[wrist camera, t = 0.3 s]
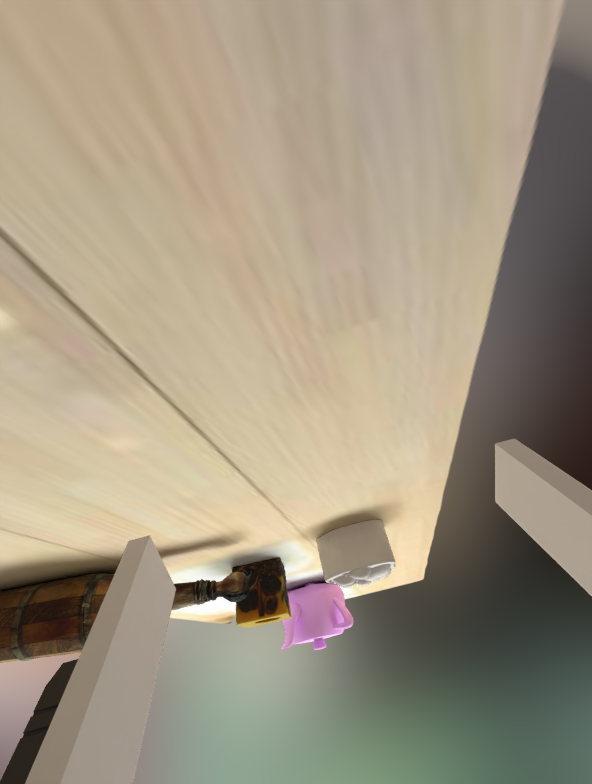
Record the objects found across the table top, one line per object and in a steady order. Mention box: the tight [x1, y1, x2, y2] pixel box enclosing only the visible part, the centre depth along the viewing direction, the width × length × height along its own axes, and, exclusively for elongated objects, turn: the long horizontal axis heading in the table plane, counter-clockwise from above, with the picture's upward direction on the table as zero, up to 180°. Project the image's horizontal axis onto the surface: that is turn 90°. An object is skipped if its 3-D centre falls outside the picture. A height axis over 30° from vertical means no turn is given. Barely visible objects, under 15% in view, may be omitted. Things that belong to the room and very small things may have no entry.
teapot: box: [281, 582, 353, 650], centre depth 96 cm, size 23×21×15 cm
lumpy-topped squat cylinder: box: [317, 520, 395, 588], centre depth 64 cm, size 10×13×9 cm
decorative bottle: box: [0, 569, 253, 663], centre depth 56 cm, size 11×11×45 cm
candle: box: [232, 558, 292, 628], centre depth 72 cm, size 10×10×10 cm
